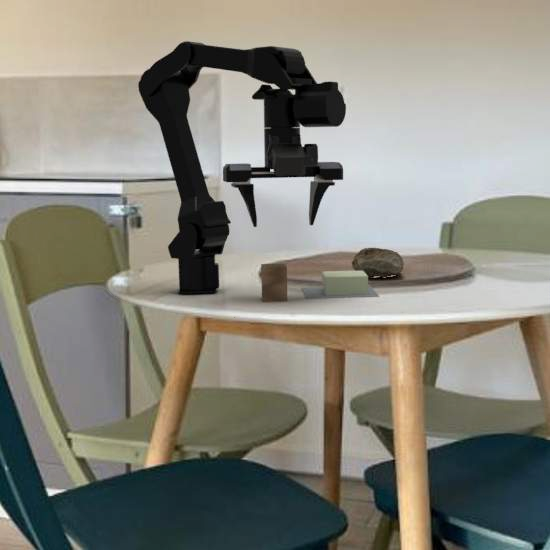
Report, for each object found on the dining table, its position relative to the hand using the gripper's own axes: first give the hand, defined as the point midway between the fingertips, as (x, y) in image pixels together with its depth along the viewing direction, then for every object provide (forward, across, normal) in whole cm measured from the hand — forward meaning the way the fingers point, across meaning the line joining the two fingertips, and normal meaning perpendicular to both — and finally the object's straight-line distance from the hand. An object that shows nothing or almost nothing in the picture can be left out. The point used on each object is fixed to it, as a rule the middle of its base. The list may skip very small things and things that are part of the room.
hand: (283, 226), depth 150 cm
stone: (+12, +21, +19) cm, 31 cm away
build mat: (+12, +10, +3) cm, 16 cm away
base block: (+12, +11, +3) cm, 16 cm away
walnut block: (+12, -2, -2) cm, 12 cm away
